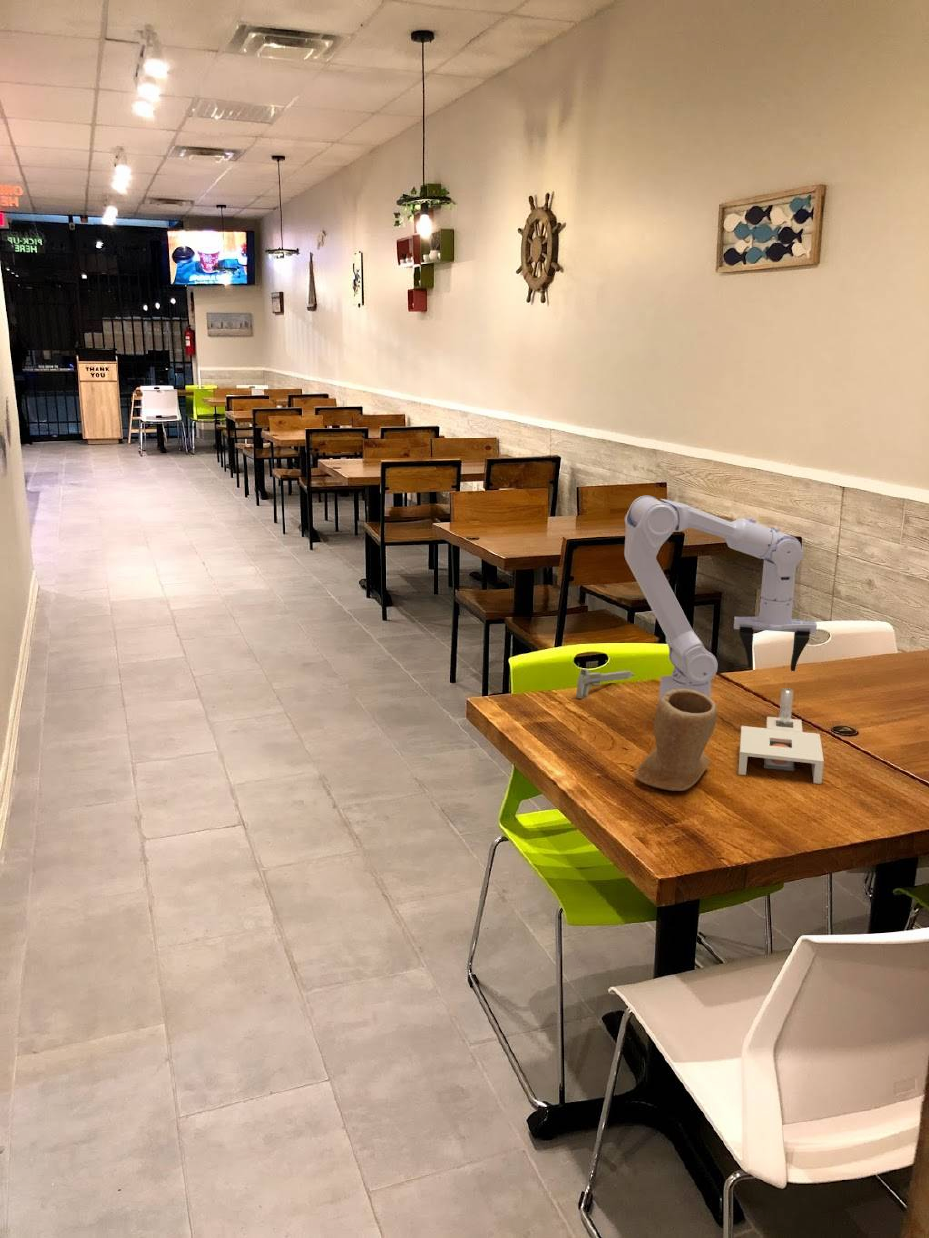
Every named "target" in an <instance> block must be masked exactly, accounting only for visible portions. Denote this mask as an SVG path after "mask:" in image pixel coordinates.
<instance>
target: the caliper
mask: <svg viewBox="0 0 929 1238" xmlns="http://www.w3.org/2000/svg"><path fill="white" fill-rule="evenodd" d="M632 676H635V674H634V673H633V672H632V671H630V670H620V671H614V672H606V673H600V672H590V669H588V668H587V669H586V668H584V669H580V674H579V675H578V678H577V683H576V698H577V699H578V700H579V699H580V700H583V698H585V699H586V698H588V695H589V693H590V689H591V687H599V686H600V685H601V684H600V683H603V682H609V681H610V682H611V681H618V680H626V679H629V678H631V677H632Z"/></svg>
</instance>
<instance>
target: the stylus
mask: <svg viewBox="0 0 929 1238" xmlns="http://www.w3.org/2000/svg"><path fill="white" fill-rule="evenodd" d="M793 700H794V689H791V688H782V689H781V693H780V705H779V714H778V715H779V716H778V718H779V725H778V726H780V727H789V728H790V722H791V719H792V710H793Z"/></svg>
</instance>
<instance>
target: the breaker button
mask: <svg viewBox="0 0 929 1238" xmlns="http://www.w3.org/2000/svg"><path fill="white" fill-rule="evenodd" d="M772 746H779V747H788V746H787V745H784V744H773V745H772ZM788 748H789V747H788ZM763 768H764V769H769V770H779V771H786V772H787V771H788V772H795V761H786V760H777V759H768V758H763Z"/></svg>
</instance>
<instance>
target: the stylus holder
mask: <svg viewBox="0 0 929 1238" xmlns="http://www.w3.org/2000/svg"><path fill="white" fill-rule="evenodd" d="M802 723H803V722H802V719H797V718H791V722H790V728H789V727H780V726H778V725H779V717H775V716H766V725H765V726H766V727H765V728H768V729H777V730H787V731H797V732H804V731H803V724H802Z"/></svg>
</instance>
